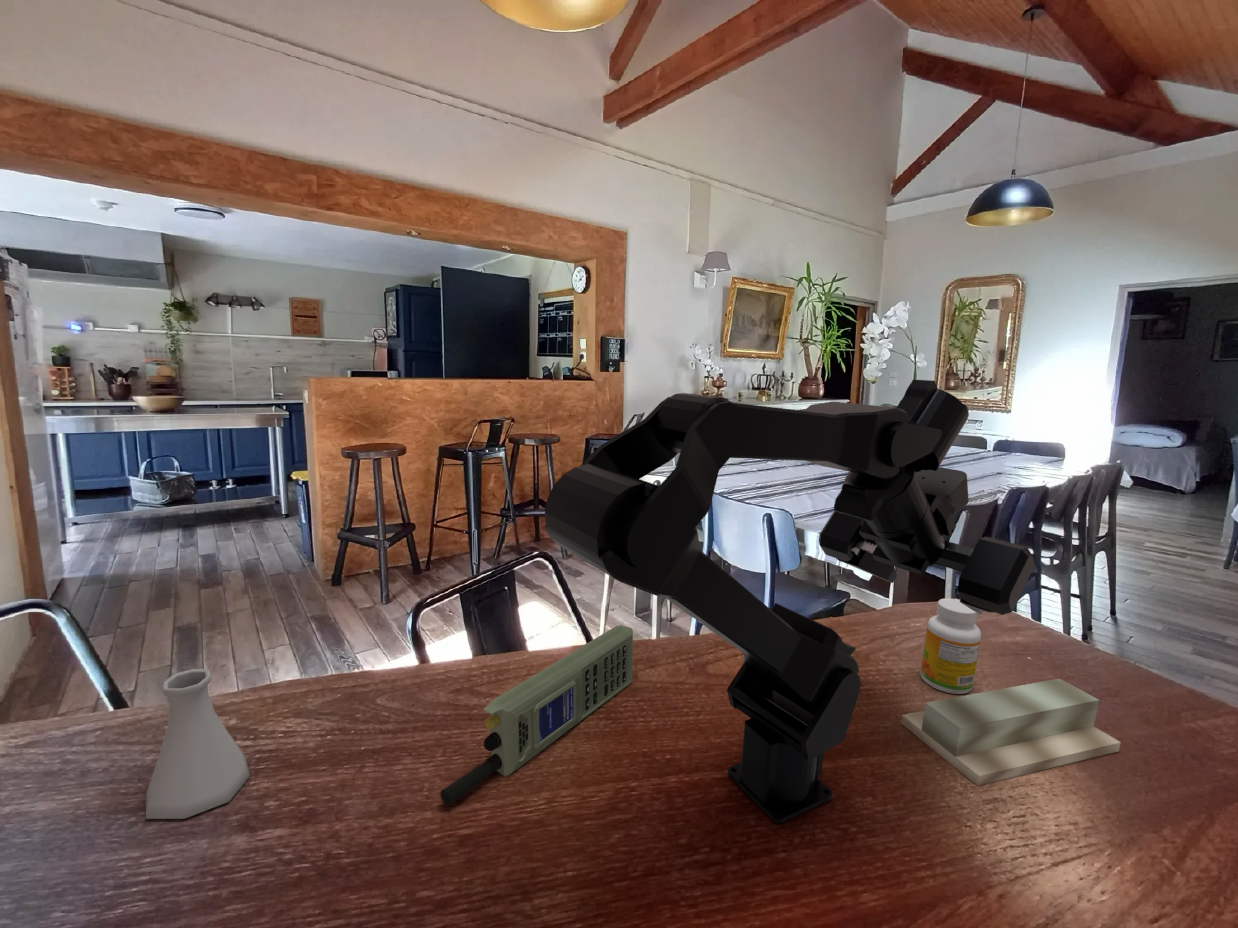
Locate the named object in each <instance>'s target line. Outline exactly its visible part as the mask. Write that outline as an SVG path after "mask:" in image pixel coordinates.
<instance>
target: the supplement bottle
mask: <svg viewBox="0 0 1238 928" xmlns="http://www.w3.org/2000/svg"><path fill="white" fill-rule="evenodd" d="M936 614H937V615H934V616H932V617H930V618H929V620H928V622H927V626H926V633H925V641H924V646H923V654H922V661H921V667H920V676H921V678H922V680H923V681H924V682H925V683H926V684H927V685H929V686H930V687H931V688H933V689H936V690H938V691H941V692H944V693H948V694H953V695H964V694H968V693H970V692H971V691H972V690H973V687H974V682H975V675H976V669H977V665H978V664H977V663H978V658H979V657H978V656H979V652H980V645H981V638H982V632H981V630H980V628H979V627H978V625H976V624H975V623H977V620H978V614H979V613H977V612H975V611H973V610H971V609H970V608H968V607H967V606H965V605H964V604H962V603H961V602H960V599H956V598H941V599H939V600H938V601H937V607H936Z"/></svg>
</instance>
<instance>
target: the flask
mask: <svg viewBox="0 0 1238 928" xmlns="http://www.w3.org/2000/svg"><path fill="white" fill-rule="evenodd" d="M211 680H212V677H211V671H210V668H192V669H188V670H183V671H180V672H179V671H178V672H176V673H173V674H172V675H171V676H169V677H168V678H167V679H165V680H164V681H163V682H162V694H163V696H165V697H167V698H168V702H169V703H168V705H169V706H168V707H169V709H168V718H167V726H166V730H165V734H164V737H163V741H162V744H161V747H160V751H159V755H158V757H157V761H156V764H155V767H154V769H153V773H152V775H151V778H150V781H149V784H148V788H147V791H146V795H145V819H146V820H147V819H148V820H149V819H150V820H153V819H154V820H155V819H156V820H157V819H158V820H159V819H160V820H161V819H162V820H167V819H169V820H170V819H171V820H172V819H173V820H174V819H176V820H181V819H183V820H184V819H188V818H190V817H193V816H195V815H197V814H200V813H201V814H202V813H203V812H206V811H208V810H211V809H213V808H214V809H215V808H217V807H219V806H221V805H224V804H226V803H229V802H230V801H231V800H232V799H233V797H235V795H236V794H237V792H238V791H239V790H240V789H241V788H242V786H243V785H244V784H245V783H246V782H247V780H248V779H249V778H250V777H251V774H250V769H249V765H248V762H247V757H246V755H245V754H244V753H243V751H242V750H241V748H240V746H239V745H238V744H237V743H236V741H235V739H234V738H233V737H232V736H231V735H230V733H229V731H228V730H227V728H226V726H225V725H224V723H223V722H222V721H221V719H220V717H219V716H218V714H217V712H216V711H215V708H214V705H213V703H212V700H211V697H210V695H209V689H208V688H209V684H210V683H211Z"/></svg>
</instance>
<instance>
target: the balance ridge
mask: <svg viewBox="0 0 1238 928" xmlns="http://www.w3.org/2000/svg"><path fill="white" fill-rule="evenodd" d="M1099 702H1100V699H1098V698H1096V697H1094V696H1093V695H1091V694H1089V693H1087V692H1085V691H1084V690H1082V689H1080V688H1077V687H1076V686H1074V685H1072V684H1070V683H1068V682H1067V681H1065V680H1063V679H1061V678H1055V679H1048V680H1042V681H1039V682H1032V683H1027V684H1022V685H1016V686H1010V687H1006V688H1005V687H1004V688H999V689H994V690H988V691H982V692H977V693H973V694H966V695H960V696H956V697H950V698H944V699H943V698H942V699H938V700H933V701H927V702H925V704H924V705H925V706H924V710H921V711H916V712H911V713H906V714H901V715H902V716H901V721H900V722H901V725H902V726H903V727H905V728H906V729H907V730H908V731H910V732H911V733H912V734H913V735H915V736H916V738H918V739H920V740H921V741H922V742H923V743H924V744H926V745H927V746H928V747H930V748H931V749H932V750H933V751H934V752H936V754H938V755H939V756H940V757H941V758H943V759H944V760H945V761H947V762H948V763H949V764H950V765H951V766H952V767H954V768H955V769H956V770H957V771H959V772H960V773H961V774H962V775H964V776H965V777H966V778H968V779H969V780H970V781H971V782H973V784H975V785H976V786H977V787H978V786H982V785H987V784H989V783H994V782H999V781H1002V780H1006V779H1007V780H1008V779H1011V778H1015V777H1019V776H1024V775H1027V774H1031V773H1035V772H1039V771H1044V770H1048V769H1052V768H1057V767H1060V766H1064V765H1068V764H1073V763H1077V762H1081V761H1085V760H1089V759H1094V758H1098V757H1101V756H1106V755H1109V754H1113V753H1119V752H1120V747H1121V741H1120V740H1118V739H1116V738H1115V737H1113V736H1110V734H1108V733H1106V732H1103V731H1102V730H1100V729H1099V728H1098V727H1095V726H1094V725H1095V721H1096V717H1097V711H1098V707H1099Z"/></svg>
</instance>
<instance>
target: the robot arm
mask: <svg viewBox="0 0 1238 928" xmlns="http://www.w3.org/2000/svg"><path fill="white" fill-rule="evenodd" d="M969 416H970V413H969V408H968V406H967V405H966V404H964V403H963V402H962V401H961V400H959V398H957V397H956V396H955V395H954V394H951V393H950V392H947V391H945V390H943V389H941V388H938V386H937V382H936V381H935V380H930V379H929V380H928V379H927V380H926V379H912V381H911V382H910V384H909V385H908V387H907V388H906V391H905V392H904V395H903V397H902V399H900V401H899V402H898V404H897V406H896V407H890V406H881V405H871V404H863V403H861V404H860V403H854V402H841V401H828V402H827V401H826V402H821V403H814V404H810V405H809V406H808V407H806V408H801V409H790V408H781V407H774V406H767V405H766V406H765V405H758V404H748V403H739V402H733V401H730V400H728V399H727V398H724V397H721V396H714V395H706V394H705V395H704V394H696V393H687V392H682V393H681V392H680V393H675V394H672V395H671V396H667V397H666V398H665V399H663V400H662V401H661V402H660V403H659V404H657V406H655V407H654V408H653V410H652V411H651V412H650V413H649V414H648V415H647V416H646V417H645V418H643V419H642V420H641V421H639V422H637V423H636V424H634V425H632V426H631V427H629V428H628V429H627V428H626V430H624V431H622V432H621V433H619V434H617V435H616V436H613V437H612V438H610V439H609V440H607V441H605V442H603V443H602V444H601V445H599V446H598V447H597V448H596V449H595V450H593V452H592V453H591V454H590V455H589V456H588V457H587V458H586V459H585V460H584V461H583V462H582V463H581V464H580V465H579V466H575V467H573V468H571V469H570V470H568V471H566V472H565V473H563V474H562V475H561V477H559V478H558V479H557V481H556V482H555V483H554V484H553V486H552V488H551V490H550V493H549V494H548V496H547V499H546V503H545V510H544V518H545V524H544V529H545V532H546V534H547V535H548V538H550V539H551V540H552V541H553V542H554V543H555V544H556V545H557V546H559V547H561V548H562V549H564V550H566V551H567V552H569V553H570V554H572V555H574V556H575V557H577V558H579V559H580V560H582V561H584V562H586V563H587V564H589V565H591V566H593V567H594V568H596V569H598V570H599V571H601V572H602V573H605V574H606V575H608V576H609V577H611V578H613V579H615V580H616V581H619V582H620V583H623V584H624V585H627V586H630V587H632V588H635V589H638V590H639V591H640V590H641V591H644V592H645V593H649V594H651V595H654V596H657V597H662V598H664V599H666V600H668V601H670V603H672V604H673V605H675V606H676V607H677V608H679V609H680V610H682V612H685V613H686V614H687V615H689V616H690V617H692V618H693V619H695V620H696V621H697V622H699V623H700V624H701V625H703V626H704V627H705V628H707V629H708V630H710V631H712V633H714V634H716V635H717V636H718V637H720V638H721V639H723V640H724V641H725V642H727V643H728V644H730V646H733V647H734V648H735V649H737V650H738V651H739V652H741V654H743V663H742V665H741V666H740V668H739V669H738V672H737V673H736V674H735V676H734V677H733V679H732V680H731V682H730V683H729V685H728V686H727V689H726V691H727V697H728V701H729V705H730V706H731V707H732V708H733V709H737V710H738V711H740V712H741V713H742V714H744V715H745V716H747V717H748V719H746V720H744V724H743V725H744V727H743V738H742V748H741V761H740V762H738V763H736V764H732V765H731V766H729V767H728V768H727V776H729V777H730V779H732V781H733V782H734V783H735V784H736V785H737V786H739V788H740V789H741V790H742V791H743V792H744V793H745V794H746V795H747V796H748V797H749V798H750V799H751V800H752V801H753V802H754V803H755V804H756V805H757V806H758V807H759V808H760V810H762V811H763V813H765V814H766V815H767V817H769V818H770V820H772V821H773V822H774V823H776V824H783V823H785V822H787V821H789V820H791V819H793V818H796V817H797V816H799V815H801V814H803V813H805V812H808V811H809V810H812V809H814V808H816V807H819V806H821V805H822V804H825V803H827V802H829V801H831V800H832V799H833V791H832V790H831V789H830V788H829V787H827V785H825V784H824V783H823V782H822V781H821V780H820V779H819V778H820V777H821V776H822V769H823V761H824V760H823V759H824V753H826V752H827V751H829V750H830V749H833V748H834V747H836V746H837V745H839V744H841V743H842V742H844V740H845V738H846V735H847V732H848V729H849V726H850V722H851V719H852V717H853V714H854V710H855V707H856V705H857V702H858V698H859V695H860V693H861V692H860V691H861V684H862V683H861V677H860V675H859V674H858V673H860V668H859V664H858V661H857V660H856V658H855V656H853V655H852V654H854V652H855V651H856V647H855V646H854V645H853V646H852V645H850V644H849V643H846V642H844V641H843V639H842V638H841V637H840V635H839V634H838V632H836V631H835V630H834V629H832V628H831V627H829V626H826V625H824V624H822V623H820V622H817V621H816V620H814V619H811V618H809V617H807V616H805V615H803V614H800V613H798V612H797V611H794V610H792V609H790V608H787V607H785V606H784V605H781V604H779V603H777V602H774V604H773V607H772V609H771V608H770V607H768V606H767V605H766V604H765V603H764V602H762V600H760V599H759V598H758V597H757V596H756V595H754V594H753V593H752V592H751V591H749V590H748V589H747V588H746V587H745V586H744V585H742V584H741V583H740V582H739V581H738V580H737V579H735V578H734V577H733V576H732V575H731V574H730V573H729V572H727V571H726V570H725V569H723V568H722V567H721V566H720V565H718V564H717V562H715V561H714V560H712V558H710V557H709V556H708V555H707V554H706V553H704V551H703V550H702V549H701V545H700V539H699V533H698V528H697V526H698V525H699V524H700V522H701V521H702V520H703V519H704V518H705V517H706V515H707V514H708V512H709V511H710V509H711V505H712V502H713V501H712V500H713V496H714V493H715V489H716V485H717V480H718V477H719V472H720V470H721V469H722V468H723V466H725V465H726V464H727V462H728V461H729V460H730V459H750V460H751V459H753V460H779V461H781V460H783V461H785V460H786V461H804V462H805V461H806V462H808V463H811V464H815V465H818V466H821V467H825V468H831V469H834V470H839V471H840V470H841V471H845V472H848V473H847V474H846V476H845V478H844V482H843V484H842V486H841V490H840V492H839V493H838V495H837V496H836V498H835V500H834V505H833V512H832V513H831V515H830V516H829V518H828V519H827V521H826V523H825V525H824V526H823V527H822V529H821V531H820V532H819V534H818V544H819V547H820V549H822V551H823V554H825V555H826V556H829V557H831V558H834V559H836V560H837V561H838V562H841V563H844V564H846V565H849V566H851V567H854V568H856V569H858V570H861V571H863V572H864V573H867V574H870V575H872V576H875V577H877V578H879V579H882V580H883V581H886V582H888V583H890V584H893V583H895V581H896V579H897V578H898V574H897V572H896V571H897V570H896V568H898V569H901V570H904V571H907V572H910V573H913V574H916V575H920V576H924V575H925V573H926V571H927V569H928V567H931V566H933V565H937V566H940V567H941V566H942V567H943V568H948V569H951V570H954V571H958V572H961V574H960V575H959V577H958V582H957V589H956V592H957V594H958V596H959V598H960V599H959V600H960V602H961V603H962V604H964V605H965V606H967V607H968V608H970V609H971V610H973V611H975V612H977V613H978V614H979V615H983V612H986V613H996V614H998V615H1000V616H1003V615H1006V614H1010V613H1013V611H1014V609H1015V607H1016V605H1017V604H1018V601H1019V599H1020V596H1021V595H1022V593H1023V591H1024V588H1025V586H1026V585H1027V582H1028V580H1029V579H1030V576H1031V575H1032V572H1033V571H1034V568H1035V566H1036V564H1035V560H1034V556H1033V555H1032V552H1031V551H1030V549H1029V547H1028V546H1024V545H1021V544H1016V543H1012V542H1009V541H1005V540H1002V539H1001V540H1000V539H998V538H993V537H989V536H984V537H981V538H979V539H978V542H977V543H976V545H975V547H974V548H973V547H969V546H966V545H962V544H958V543H954V542H951V541H947V540H945V536H947V537H951V536H952V535H953V533H954V532H955V529H956V527H957V525H956V522H955V520H954V517H955V516H957V514H958V513H959V512H960V511H961V509H962V508H963V507H964V506H967V505H968V503H969V502H970V501H969V485H968V474H967V472H965V471H963V470H957V469H953V468H952V469H951V468H947V467H940V466H941V464H942V462H943V460H944V459H945V457H946V456H947V454H948V452H949V451H950V449H951V448H952V446H953V444H954V443H955V441H956V439H957V437H958V436H959V434H960V433H961V431H962V430H963V427H964V426H965V424H966V422H967V421H968V419H969ZM678 454H679V455H678ZM677 455H678V459H677V462H676V465H675V468H674V469H673V470H672V471H671V472H670V473H669V474H668V476H667V477H666V478H665V479H664V480H663V481H662V482H661V483H660V484H659V485H658V484H655V483H652V482H649V481H645V480H644V479H642V478H644V477H645V476H647V475H649V474H650V473H652V472H654V471H655V470H657V469H659V468H660V467H662V466H664V465H666V464H667V463H669V462H670V461H672V460H673V459H674V458H675V457H676V456H677Z"/></svg>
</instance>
